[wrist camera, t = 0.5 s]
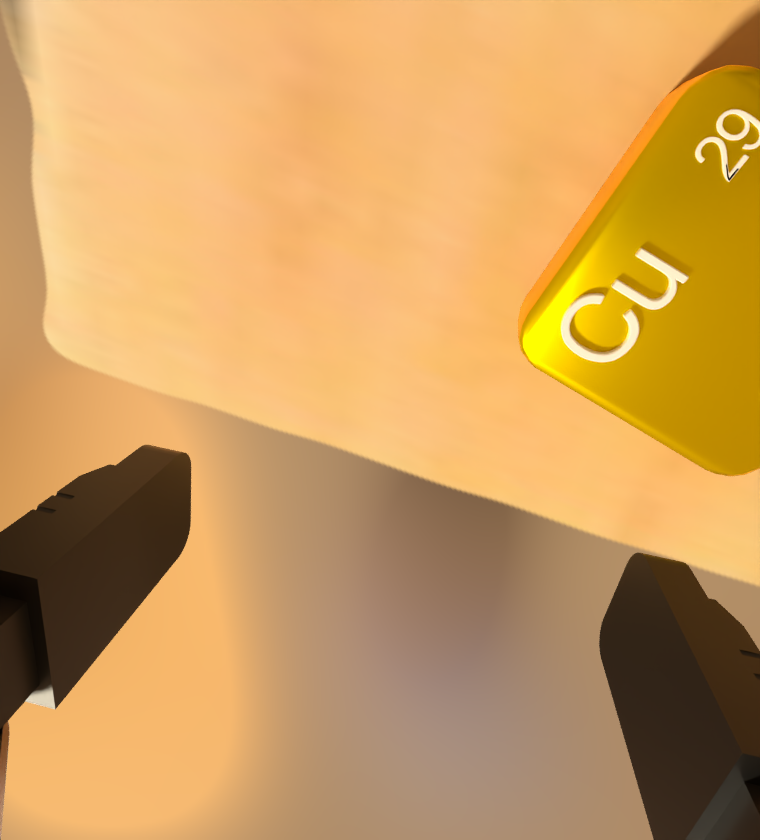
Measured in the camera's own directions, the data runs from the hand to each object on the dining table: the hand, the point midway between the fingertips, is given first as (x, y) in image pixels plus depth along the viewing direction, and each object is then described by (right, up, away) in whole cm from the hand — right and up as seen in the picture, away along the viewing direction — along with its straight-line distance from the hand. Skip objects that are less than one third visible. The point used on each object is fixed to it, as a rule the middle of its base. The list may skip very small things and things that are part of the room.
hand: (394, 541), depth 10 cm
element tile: (+17, +10, +19) cm, 27 cm away
